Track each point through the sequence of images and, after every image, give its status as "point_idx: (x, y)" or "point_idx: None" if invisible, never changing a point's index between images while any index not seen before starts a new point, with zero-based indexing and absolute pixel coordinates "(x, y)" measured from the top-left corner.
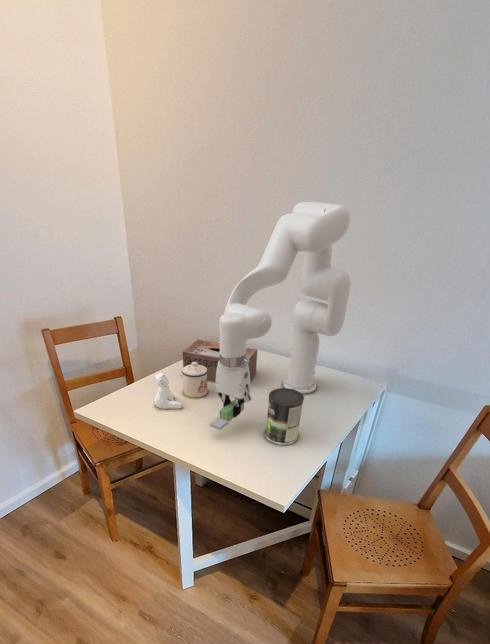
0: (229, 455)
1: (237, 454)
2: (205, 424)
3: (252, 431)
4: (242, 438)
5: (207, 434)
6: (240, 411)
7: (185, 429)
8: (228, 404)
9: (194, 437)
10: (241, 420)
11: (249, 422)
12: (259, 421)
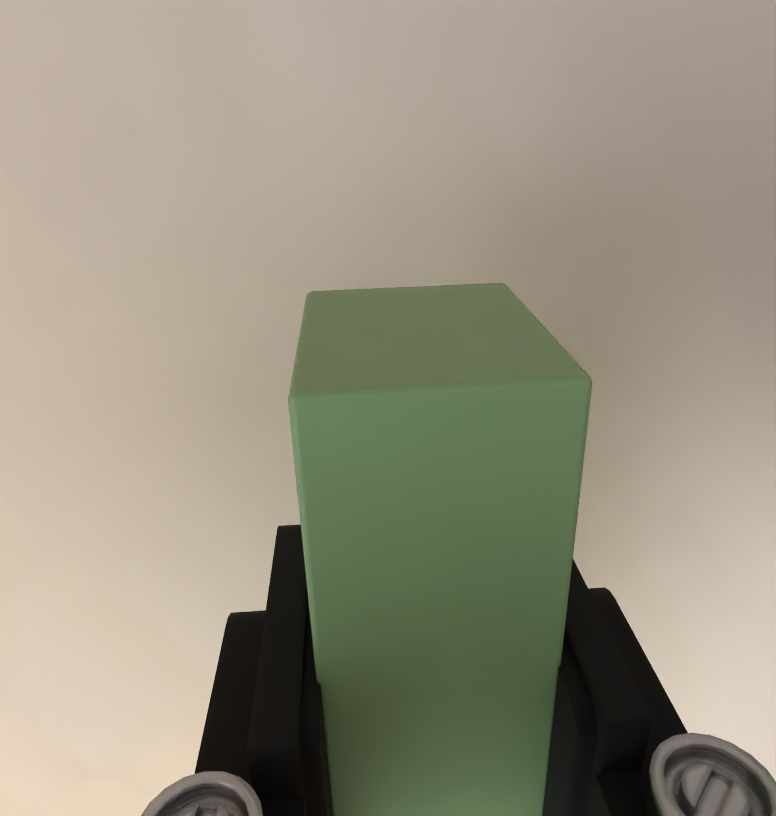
0: None
1: None
2: (89, 606)
3: (698, 379)
4: (644, 567)
5: None
6: (614, 610)
7: (12, 782)
8: (348, 790)
9: None
10: (417, 226)
11: (558, 196)
12: (697, 52)
